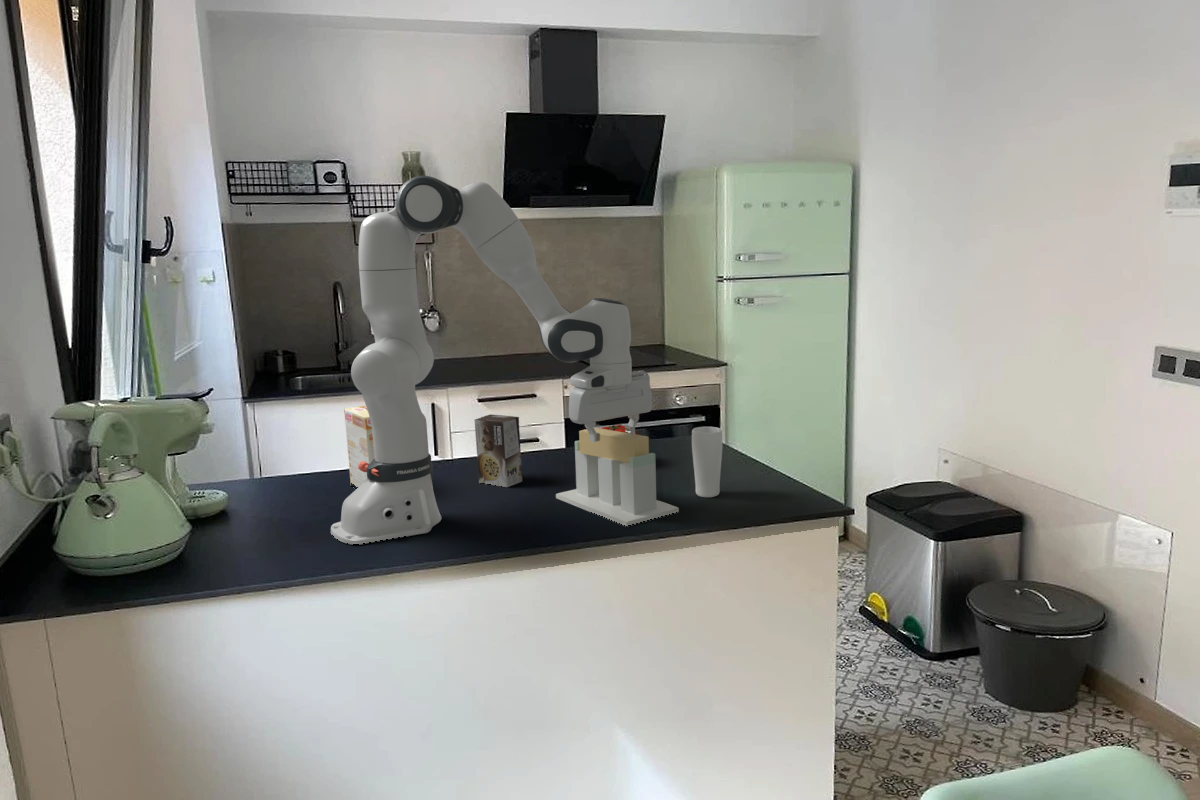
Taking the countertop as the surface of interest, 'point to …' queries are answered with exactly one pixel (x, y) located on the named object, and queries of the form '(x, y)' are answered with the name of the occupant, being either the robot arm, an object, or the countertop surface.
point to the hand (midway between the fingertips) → (612, 437)
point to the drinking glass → (707, 460)
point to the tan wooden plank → (614, 445)
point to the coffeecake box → (358, 441)
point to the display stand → (617, 488)
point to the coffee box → (498, 450)
